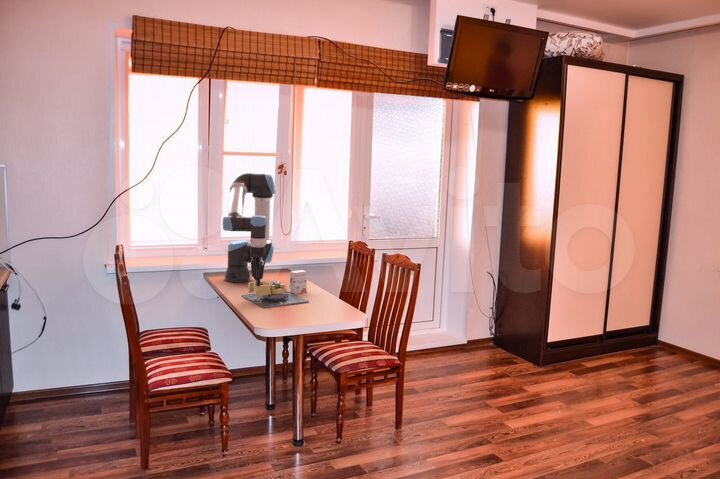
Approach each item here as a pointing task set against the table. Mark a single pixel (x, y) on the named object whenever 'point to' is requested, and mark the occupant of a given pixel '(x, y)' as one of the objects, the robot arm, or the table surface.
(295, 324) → the table surface
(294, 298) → the cap plate
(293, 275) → the ink box
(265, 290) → the octagonal ring stand
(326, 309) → the table surface
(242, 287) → the table surface
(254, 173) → the robot arm
